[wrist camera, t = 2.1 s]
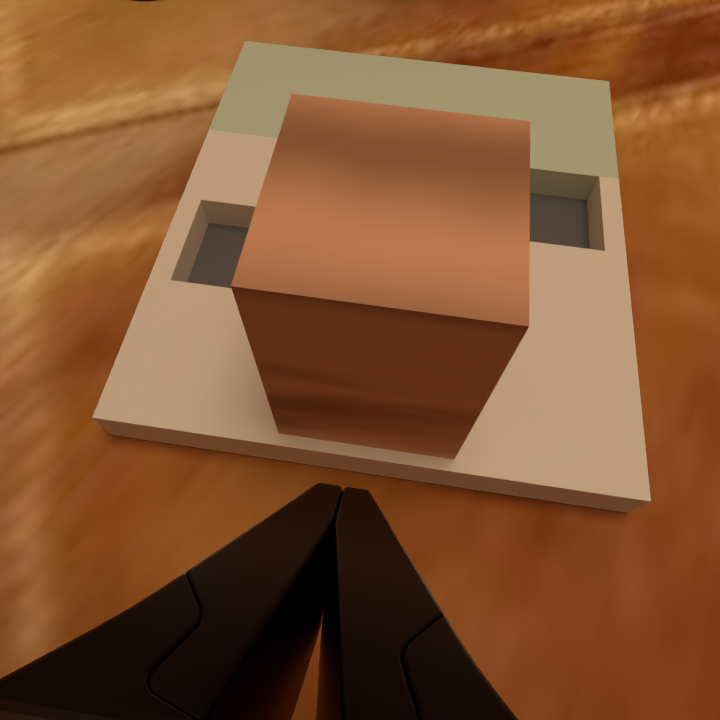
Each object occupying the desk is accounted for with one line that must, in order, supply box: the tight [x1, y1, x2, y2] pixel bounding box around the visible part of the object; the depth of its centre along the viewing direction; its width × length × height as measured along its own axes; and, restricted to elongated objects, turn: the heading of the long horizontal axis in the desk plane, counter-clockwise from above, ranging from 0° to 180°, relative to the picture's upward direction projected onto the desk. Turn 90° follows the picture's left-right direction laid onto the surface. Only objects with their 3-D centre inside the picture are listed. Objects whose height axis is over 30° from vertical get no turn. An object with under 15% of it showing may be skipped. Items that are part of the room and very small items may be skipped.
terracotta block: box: [231, 94, 530, 459], centre depth 19 cm, size 7×7×10 cm
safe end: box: [209, 41, 619, 200], centre depth 32 cm, size 8×22×2 cm, turn 82°
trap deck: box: [92, 130, 651, 513], centre depth 26 cm, size 17×22×2 cm
